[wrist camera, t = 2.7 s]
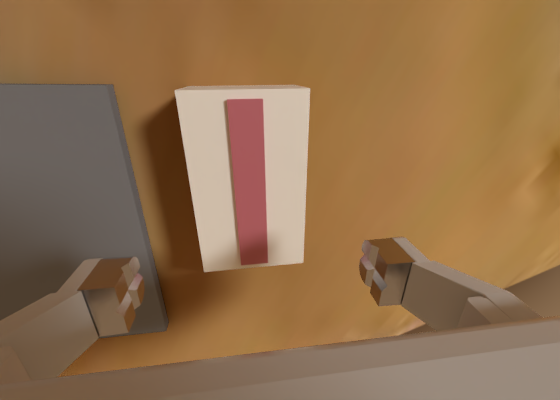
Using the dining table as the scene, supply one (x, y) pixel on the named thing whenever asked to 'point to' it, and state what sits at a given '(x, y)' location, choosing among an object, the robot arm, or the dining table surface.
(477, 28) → the dining table surface
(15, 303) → the mat
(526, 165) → the dining table surface
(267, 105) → the card deck
